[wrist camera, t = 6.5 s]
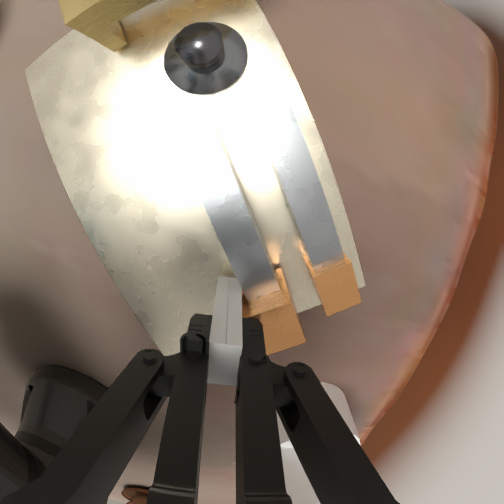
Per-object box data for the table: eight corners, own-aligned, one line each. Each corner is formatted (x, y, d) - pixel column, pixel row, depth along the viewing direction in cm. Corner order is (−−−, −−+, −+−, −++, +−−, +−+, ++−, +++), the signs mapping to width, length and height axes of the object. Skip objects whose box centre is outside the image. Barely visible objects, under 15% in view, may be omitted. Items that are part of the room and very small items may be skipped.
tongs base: (28, 70, 13) (-3, 65, 10) (227, -42, 12) (225, -72, 8) (166, 352, 23) (156, 385, 19) (363, 282, 21) (383, 310, 17)
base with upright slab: (360, 386, 25) (398, 483, 14) (320, 433, 29) (339, 519, 17) (279, 375, 24) (296, 496, 13) (248, 426, 27) (251, 524, 16)
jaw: (172, 125, 16) (149, 121, 11) (215, 106, 15) (206, 95, 11) (257, 316, 21) (261, 356, 16) (294, 303, 20) (306, 342, 16)
